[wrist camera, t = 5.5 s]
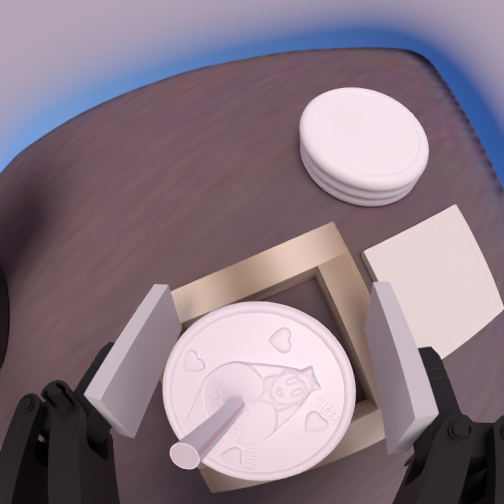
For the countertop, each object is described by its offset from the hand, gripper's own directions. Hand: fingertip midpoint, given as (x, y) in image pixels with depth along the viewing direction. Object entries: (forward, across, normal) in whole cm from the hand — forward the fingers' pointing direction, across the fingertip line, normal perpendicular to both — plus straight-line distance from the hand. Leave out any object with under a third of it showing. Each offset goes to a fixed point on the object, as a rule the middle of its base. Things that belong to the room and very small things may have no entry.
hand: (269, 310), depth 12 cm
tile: (+5, +12, -3) cm, 13 cm away
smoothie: (+2, 0, -6) cm, 7 cm away
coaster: (+13, +7, +4) cm, 16 cm away
